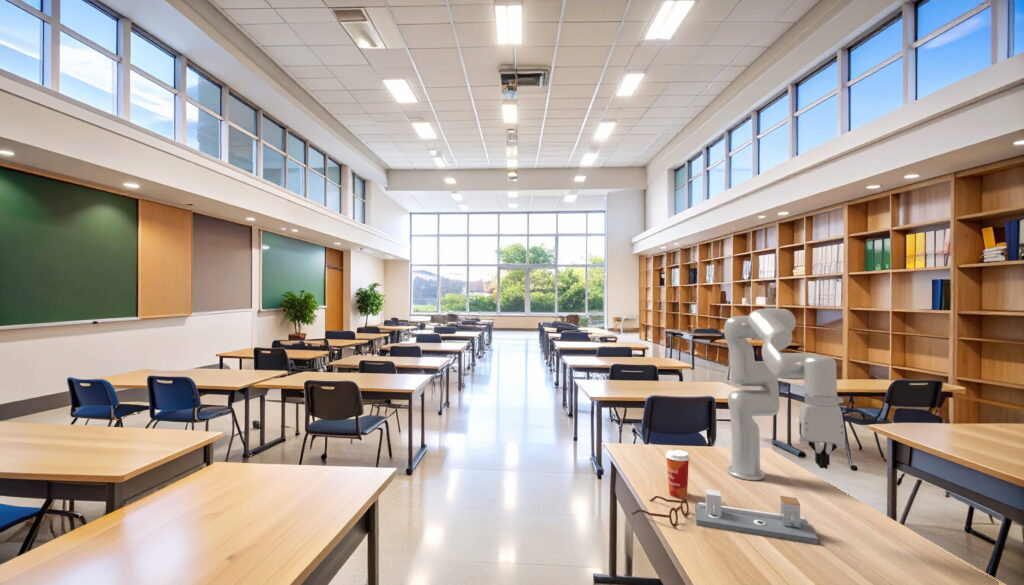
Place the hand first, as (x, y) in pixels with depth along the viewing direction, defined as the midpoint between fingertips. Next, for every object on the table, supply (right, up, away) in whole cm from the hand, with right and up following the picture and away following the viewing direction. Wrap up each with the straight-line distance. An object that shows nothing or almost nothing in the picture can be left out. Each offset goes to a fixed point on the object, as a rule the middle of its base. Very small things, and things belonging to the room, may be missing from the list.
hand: (822, 466), depth 123 cm
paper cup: (-31, -20, +26) cm, 45 cm away
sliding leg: (-8, -17, +2) cm, 19 cm away
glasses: (-41, -20, +13) cm, 47 cm away
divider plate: (-17, -19, +6) cm, 26 cm away
